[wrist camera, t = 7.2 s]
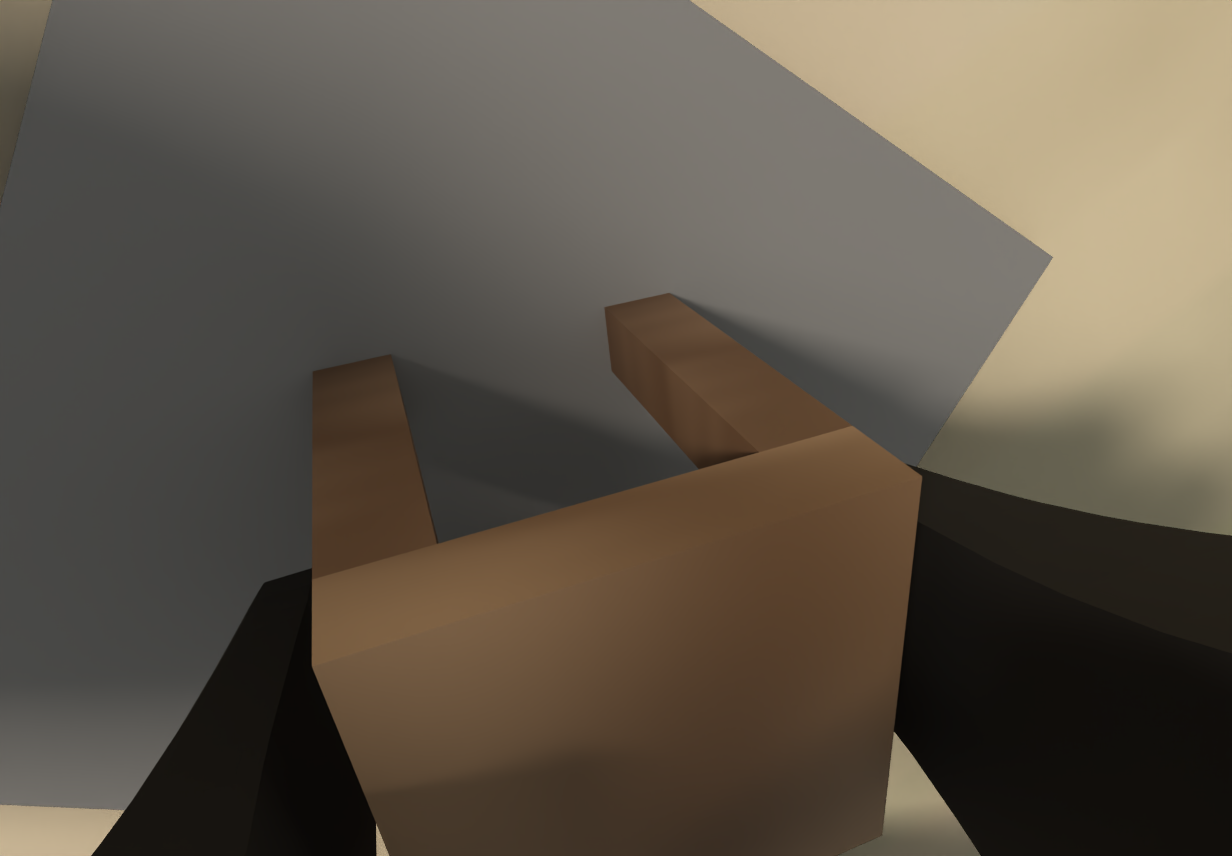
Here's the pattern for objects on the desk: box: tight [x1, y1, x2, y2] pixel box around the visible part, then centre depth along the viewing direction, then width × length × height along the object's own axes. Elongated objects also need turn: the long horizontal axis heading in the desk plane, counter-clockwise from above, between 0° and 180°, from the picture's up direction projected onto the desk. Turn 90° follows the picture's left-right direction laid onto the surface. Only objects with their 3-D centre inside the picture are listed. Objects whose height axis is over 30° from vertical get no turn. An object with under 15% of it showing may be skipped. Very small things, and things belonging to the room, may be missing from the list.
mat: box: [0, 0, 1053, 810], centre depth 12 cm, size 14×14×1 cm
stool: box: [312, 293, 922, 856], centre depth 9 cm, size 5×5×6 cm
